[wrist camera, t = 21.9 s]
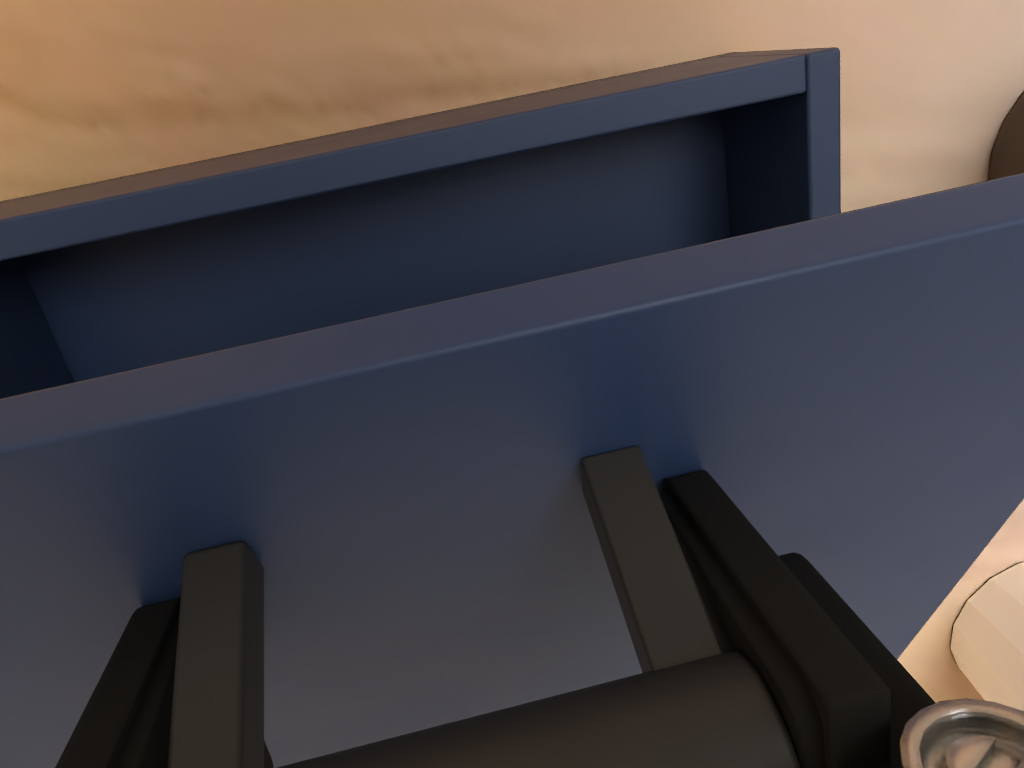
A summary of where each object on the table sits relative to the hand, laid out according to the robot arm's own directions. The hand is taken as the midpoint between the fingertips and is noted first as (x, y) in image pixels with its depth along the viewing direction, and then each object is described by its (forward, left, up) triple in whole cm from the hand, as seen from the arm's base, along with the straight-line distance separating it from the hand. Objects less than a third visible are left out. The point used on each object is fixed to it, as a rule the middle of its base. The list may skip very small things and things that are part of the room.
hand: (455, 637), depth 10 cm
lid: (+3, 0, -3) cm, 4 cm away
